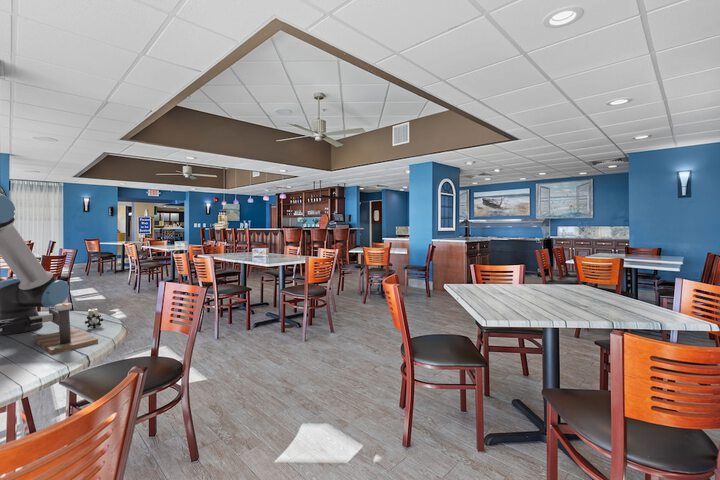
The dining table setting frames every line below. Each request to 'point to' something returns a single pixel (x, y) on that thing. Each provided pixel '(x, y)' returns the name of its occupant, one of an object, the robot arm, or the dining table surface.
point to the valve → (93, 318)
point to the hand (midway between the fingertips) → (52, 317)
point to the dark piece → (62, 320)
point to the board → (54, 346)
